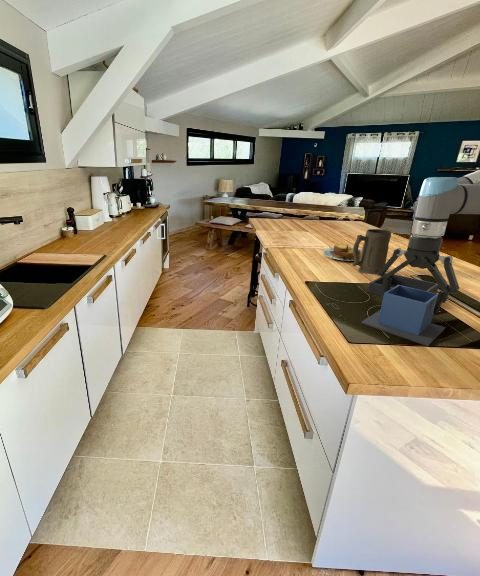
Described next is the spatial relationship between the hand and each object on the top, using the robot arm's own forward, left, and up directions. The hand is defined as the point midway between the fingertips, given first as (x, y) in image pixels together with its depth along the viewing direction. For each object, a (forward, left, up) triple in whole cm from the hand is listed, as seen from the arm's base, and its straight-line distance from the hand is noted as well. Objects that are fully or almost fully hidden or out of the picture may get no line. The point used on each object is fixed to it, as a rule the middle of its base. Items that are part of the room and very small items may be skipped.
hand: (409, 304), depth 95 cm
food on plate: (+50, -65, -7) cm, 82 cm away
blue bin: (0, 0, -6) cm, 6 cm away
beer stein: (+31, -45, -7) cm, 55 cm away
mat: (0, 0, -7) cm, 7 cm away
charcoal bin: (+10, -27, -7) cm, 30 cm away
